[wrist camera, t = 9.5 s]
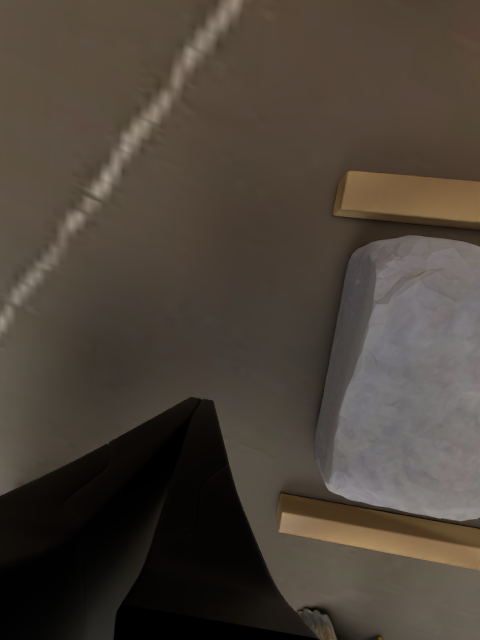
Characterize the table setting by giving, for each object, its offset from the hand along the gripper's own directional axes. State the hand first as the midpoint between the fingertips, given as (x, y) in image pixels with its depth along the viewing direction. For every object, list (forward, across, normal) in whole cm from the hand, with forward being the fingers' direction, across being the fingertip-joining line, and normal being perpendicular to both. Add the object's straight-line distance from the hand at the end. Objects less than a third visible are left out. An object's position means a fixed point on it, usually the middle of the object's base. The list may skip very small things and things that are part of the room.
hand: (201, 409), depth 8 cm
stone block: (+5, -10, -1) cm, 11 cm away
